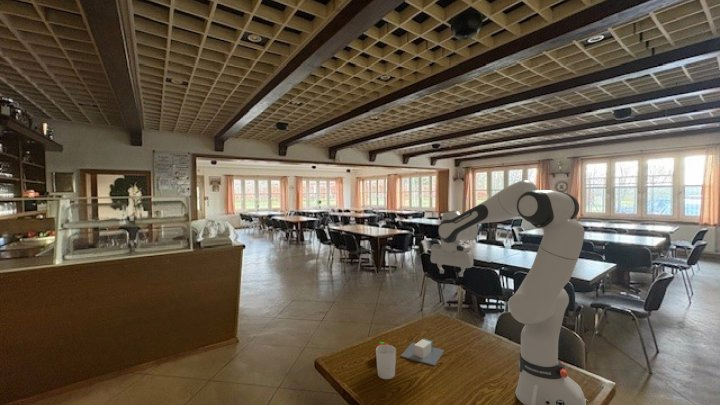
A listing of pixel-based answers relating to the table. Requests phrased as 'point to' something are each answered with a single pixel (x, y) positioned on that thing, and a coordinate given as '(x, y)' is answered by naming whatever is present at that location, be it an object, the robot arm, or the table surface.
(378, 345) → the clementine
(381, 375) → the white cup
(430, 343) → the block
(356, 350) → the table surface
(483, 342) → the table surface
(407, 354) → the slate tile
